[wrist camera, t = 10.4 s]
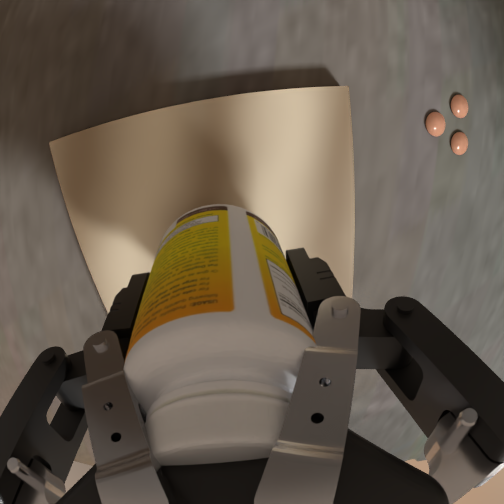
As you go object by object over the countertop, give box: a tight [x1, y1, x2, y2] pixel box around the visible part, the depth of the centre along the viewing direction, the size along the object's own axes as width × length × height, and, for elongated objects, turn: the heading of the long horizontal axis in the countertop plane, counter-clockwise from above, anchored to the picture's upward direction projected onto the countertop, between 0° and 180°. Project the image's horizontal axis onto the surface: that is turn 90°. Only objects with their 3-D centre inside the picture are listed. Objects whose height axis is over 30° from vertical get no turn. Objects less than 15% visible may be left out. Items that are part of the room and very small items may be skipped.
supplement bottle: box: [123, 204, 317, 466], centre depth 10 cm, size 6×6×10 cm
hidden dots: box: [426, 95, 468, 155], centre depth 14 cm, size 3×4×1 cm
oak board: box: [49, 86, 355, 313], centre depth 16 cm, size 14×14×1 cm
